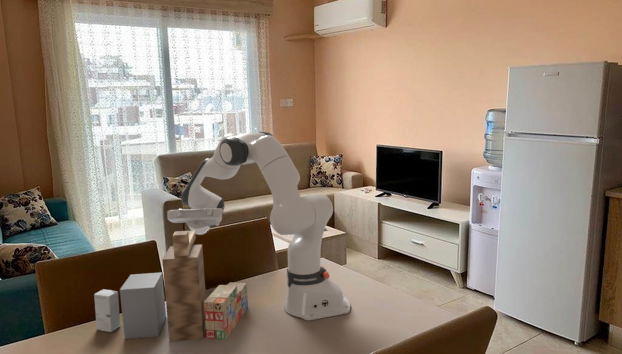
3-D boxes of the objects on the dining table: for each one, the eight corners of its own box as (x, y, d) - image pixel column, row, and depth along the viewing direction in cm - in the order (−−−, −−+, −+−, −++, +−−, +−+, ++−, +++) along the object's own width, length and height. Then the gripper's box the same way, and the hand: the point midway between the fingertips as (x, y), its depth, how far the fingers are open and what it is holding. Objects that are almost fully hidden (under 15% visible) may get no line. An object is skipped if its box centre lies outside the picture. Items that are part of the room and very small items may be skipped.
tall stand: (207, 319, 147) (202, 244, 143) (203, 338, 135) (197, 257, 131) (176, 322, 146) (170, 246, 141) (169, 341, 134) (162, 259, 130)
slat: (195, 237, 150) (194, 218, 149) (187, 255, 132) (186, 234, 131) (183, 238, 150) (182, 219, 148) (174, 256, 132) (172, 235, 131)
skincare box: (96, 330, 142) (92, 294, 140) (106, 323, 146) (102, 288, 144) (112, 332, 140) (108, 296, 138) (121, 325, 144) (118, 290, 142)
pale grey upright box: (166, 317, 149) (162, 272, 147) (158, 336, 138) (154, 287, 135) (135, 320, 148) (130, 274, 145) (124, 338, 136) (119, 289, 134)
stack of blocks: (231, 306, 156) (229, 273, 154) (248, 308, 155) (246, 274, 153) (205, 338, 136) (203, 300, 133) (225, 340, 134) (222, 302, 132)
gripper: (170, 212, 176) (164, 203, 163) (222, 209, 179) (221, 201, 166) (169, 227, 174) (163, 220, 161) (223, 225, 177) (221, 217, 164)
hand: (193, 210), depth 163 cm, fingers open, 8 cm apart
